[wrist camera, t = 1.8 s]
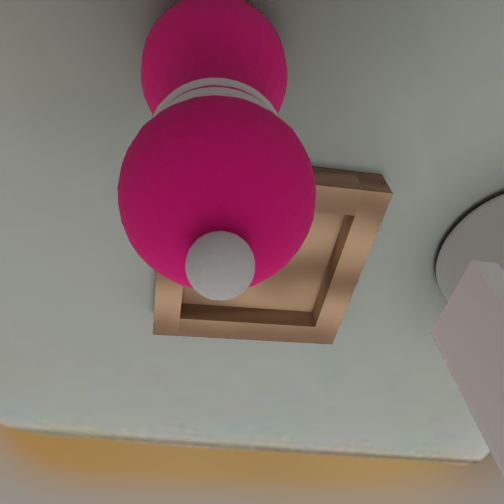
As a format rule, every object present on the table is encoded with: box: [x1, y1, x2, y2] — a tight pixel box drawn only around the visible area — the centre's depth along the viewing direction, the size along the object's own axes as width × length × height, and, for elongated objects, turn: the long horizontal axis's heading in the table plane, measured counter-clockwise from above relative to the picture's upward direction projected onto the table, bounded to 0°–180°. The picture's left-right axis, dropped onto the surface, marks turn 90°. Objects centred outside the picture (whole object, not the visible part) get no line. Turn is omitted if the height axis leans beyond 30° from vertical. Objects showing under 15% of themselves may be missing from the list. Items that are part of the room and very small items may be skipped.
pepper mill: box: [118, 0, 316, 300], centre depth 19 cm, size 7×7×20 cm
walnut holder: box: [153, 167, 393, 344], centre depth 35 cm, size 15×15×2 cm
